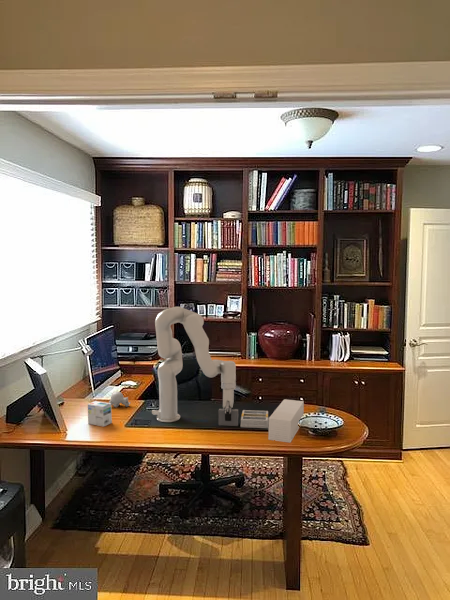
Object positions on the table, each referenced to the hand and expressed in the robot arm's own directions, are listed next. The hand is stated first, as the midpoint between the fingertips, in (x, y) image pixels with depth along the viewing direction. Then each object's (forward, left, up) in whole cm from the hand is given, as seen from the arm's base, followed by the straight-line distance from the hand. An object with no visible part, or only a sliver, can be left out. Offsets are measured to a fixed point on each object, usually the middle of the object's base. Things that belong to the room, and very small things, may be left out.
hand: (229, 417), depth 244 cm
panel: (0, 0, -4) cm, 4 cm away
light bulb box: (-67, -5, -4) cm, 68 cm away
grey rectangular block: (+30, -4, -4) cm, 30 cm away
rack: (+13, +5, -4) cm, 15 cm away
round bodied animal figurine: (-66, +24, -4) cm, 70 cm away
